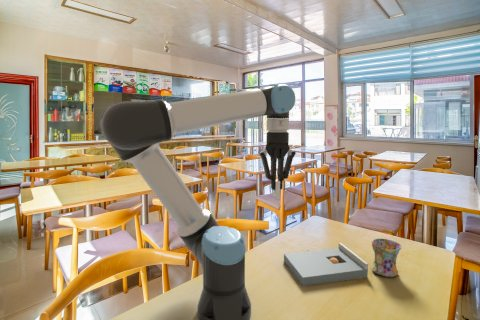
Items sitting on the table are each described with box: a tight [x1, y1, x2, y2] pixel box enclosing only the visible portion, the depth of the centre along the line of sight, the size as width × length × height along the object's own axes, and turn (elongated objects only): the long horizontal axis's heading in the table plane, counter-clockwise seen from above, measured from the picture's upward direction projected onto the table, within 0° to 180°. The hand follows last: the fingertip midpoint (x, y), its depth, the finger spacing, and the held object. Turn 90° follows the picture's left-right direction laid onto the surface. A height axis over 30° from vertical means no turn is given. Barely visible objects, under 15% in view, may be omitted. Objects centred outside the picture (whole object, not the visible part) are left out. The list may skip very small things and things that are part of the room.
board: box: [283, 242, 369, 287], centre depth 105 cm, size 24×17×5 cm
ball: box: [330, 258, 339, 264], centre depth 107 cm, size 4×4×4 cm
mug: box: [370, 238, 402, 278], centre depth 104 cm, size 12×9×11 cm
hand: (276, 198), depth 103 cm, fingers closed
